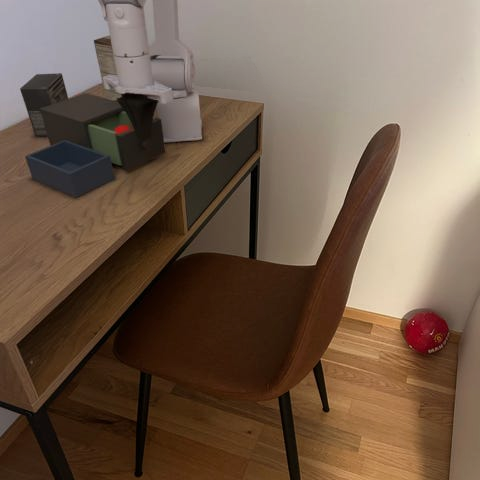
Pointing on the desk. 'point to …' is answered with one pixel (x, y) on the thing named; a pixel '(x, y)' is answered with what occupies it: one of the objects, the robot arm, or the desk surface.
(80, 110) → the cabinet
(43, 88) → the small box
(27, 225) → the desk surface
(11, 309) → the desk surface
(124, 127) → the ball
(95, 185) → the box
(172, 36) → the robot arm
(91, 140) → the drawer
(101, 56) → the coffee box
